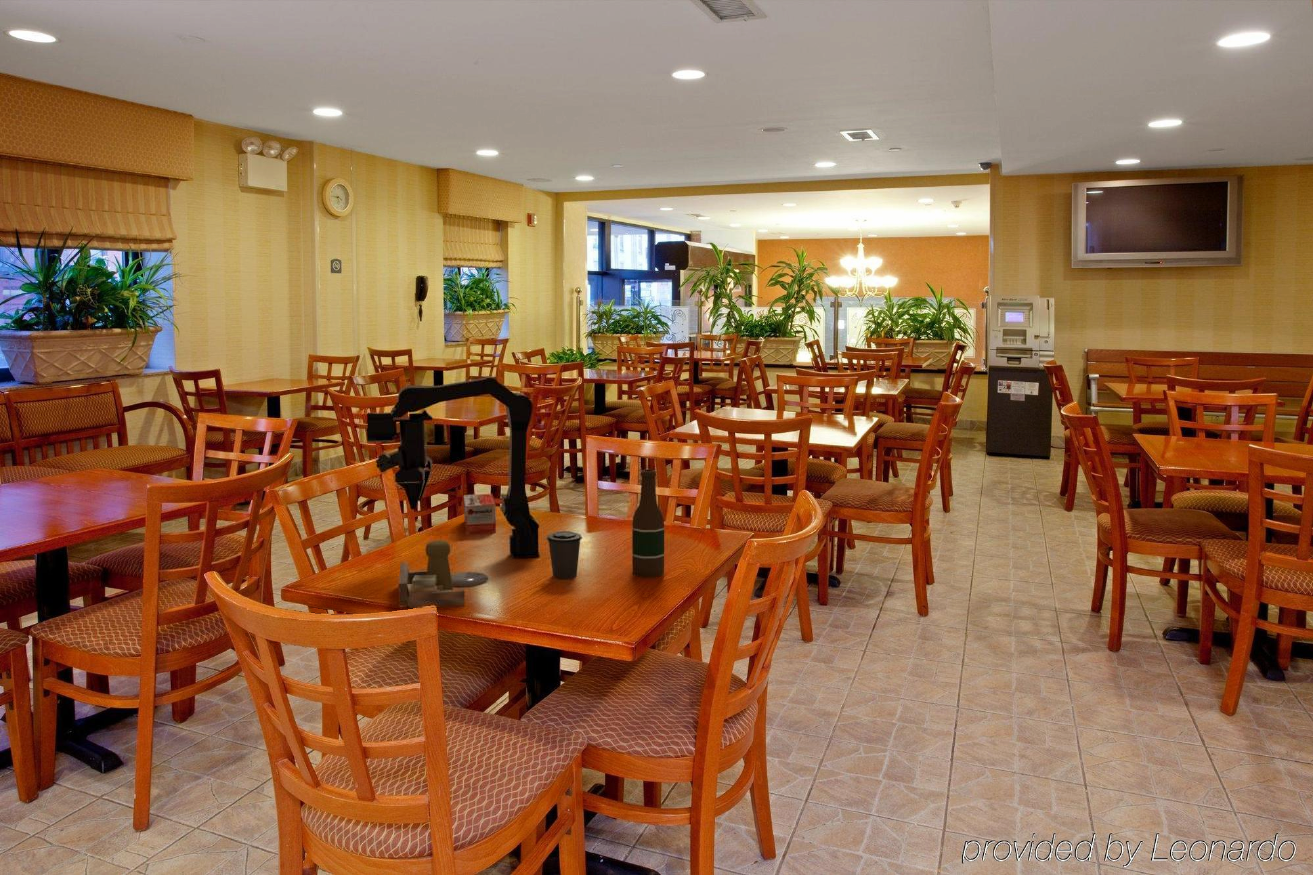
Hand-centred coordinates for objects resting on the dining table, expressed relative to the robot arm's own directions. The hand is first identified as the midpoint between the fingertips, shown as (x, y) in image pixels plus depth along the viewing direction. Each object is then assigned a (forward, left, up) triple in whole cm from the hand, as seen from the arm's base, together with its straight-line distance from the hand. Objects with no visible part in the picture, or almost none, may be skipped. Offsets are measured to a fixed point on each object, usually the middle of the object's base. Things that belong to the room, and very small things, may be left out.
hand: (416, 504), depth 227 cm
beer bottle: (-52, +21, -14) cm, 57 cm away
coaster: (-10, +17, -14) cm, 25 cm away
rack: (-4, +26, -14) cm, 29 cm away
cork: (-5, +24, -14) cm, 28 cm away
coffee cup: (-33, +19, -14) cm, 40 cm away
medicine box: (-16, -33, -14) cm, 39 cm away
